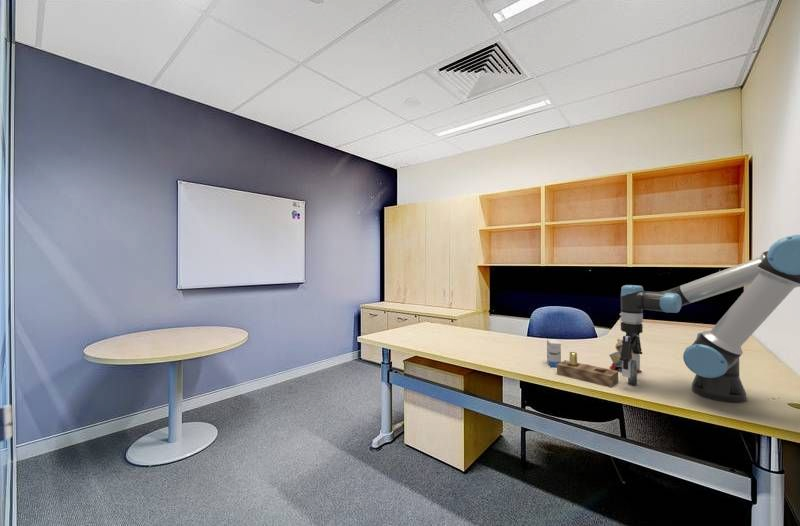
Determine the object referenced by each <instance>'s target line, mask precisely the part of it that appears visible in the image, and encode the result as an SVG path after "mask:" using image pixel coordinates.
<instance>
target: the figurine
mask: <svg viewBox="0 0 800 526" xmlns="http://www.w3.org/2000/svg"><path fill="white" fill-rule="evenodd" d="M622 344H623V338H622V339H621V338H617V343H616V344H615V350H616V351H615V352H612V353H611V354H608V355H609V357H610V359H611V361H612V364H611V365H610V366H609V369H610V370H616V369H617V371H618V372H619V371H620V372H622V360H620V358H621V351H622ZM632 353H633V351H632V352H631V357H630V360H632ZM625 358H626V357H625ZM637 373H642V370H637Z"/></svg>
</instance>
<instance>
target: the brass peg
mask: <svg viewBox="0 0 800 526" xmlns="http://www.w3.org/2000/svg"><path fill="white" fill-rule="evenodd" d="M569 361H570V366H574V367H577V363H578V352H576V351H575V352H574V351H570V352H569Z"/></svg>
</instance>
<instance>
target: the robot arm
mask: <svg viewBox="0 0 800 526" xmlns="http://www.w3.org/2000/svg"><path fill="white" fill-rule="evenodd" d="M745 286H747V287H746V288H745V290H744V291H743V292H742V293H741V294H740V296H738V298H737V300H735V302H734V303H733V304H732V305H731V306H730V307H729V308H728V310H727V311H726V312H725V313H724V315H722V317H721V318H720V319H719V320H718V321H717V323H716V324H715V325H714V326H713V327H712V329H711V330H705V331H702V332H698V334H697V335H696V339H695V340H694V342H693V343H692V344H691V345H689V346H687V347H686V348H685V350H684V351H683V355H682V359H683V362H684V364H685V366H686V367H687V368H688V369H689V371H691V372H692V373H694V374H695V376H694V378H693V381H692V383H691V391H692V392H694V393H695V394H697V395H699V396H702V397H705V398H708V399H712V400H716V401H721V402H725V403H726V402H727V403H744V402H746V401H747V398H748V397H747V392H746V390H745V387H744V385H743V383H742V381H741V376H740V357H741V356H742V355H743V354H744V353H743V349H742V346H743V345H744V344H745V342H747V340H748V339H749V338H750V337H751V336H752V335H753V334H754V333H755V331H757V330H758V328H759V327H760V326H762V324H763V323H764V322H765V321H766V320H767V318H769V317H770V315H771V314H772V313H773V312H774V311H775V310H776V308H778V306H779V305H780V304H781V303H782V302H783V301H784V300H785V299H786V298H787V296H788V295H789V294H791V292H792V291H793V290H794V289H795V288H799V287H800V234H793V235H789V236H785V237H782V238H780V239H778V240H777V241H775V242H774V243H773V244H771V245H770V247H769V248H768V250H766V251H763V252H762V253H761V255H760V256H759V257H756V258H753V259H751V260H748V261H745V262H743V263H740V264H737V265H734V266H731V267H729V268H725V269H723V270H720V271H717V272H715V273H711V274H709V275H706V276H704V277H701V278H698V279H695V280H693V281H690V282H688V283H684V284H681V285H678V286H676V287H672V288H670V289H667V290H663V291H647V290H644V287H643V285H638V284H637V285H635V284H634V285H633V284H625V285H623V286H621V291H620V313H619V316H620V331H621V332H623V333H625V335H623V336H622V339H623V344H622V351H621V358H620V360H622V371H621V377H625V378H627V379H628V378H630V366H631V361H630V357H631V352H632V351H633V353H632V360H636V361H637V371H638V370H640V369H641V355H643V351H642V346H641V345H642V344H641V337H640V334H642V333H643V332H644V331H643V328H644V326H643V325H644V324H643V322H644V312H643V310H645V311H646V310H647V311H655V312H661V313H662V312H663V313H667V314H669V313H671V314H672V313H673V314H674V313H675V314H677V313H679V312H680V310H681V309H682V307H683V306H686V305H689V304H692V303H695V302H699V301H702V300H705V299H708V298H710V297H714V296H717V295H720V294H724V293H726V292H730V291H732V290H736V289H739V288H742V287H745ZM625 357H626V358H625Z"/></svg>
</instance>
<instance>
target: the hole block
mask: <svg viewBox="0 0 800 526" xmlns="http://www.w3.org/2000/svg"><path fill="white" fill-rule="evenodd" d="M556 374H557V375H559V376H564V377H568V378H572V379H574V380H575V379H576V380H581V381H585V382H589V383H592V384H596V385H600V386H603V387H604V386H605V387H609V388H612V387H613V386H616V385H617V383H619V370H616V369H614V370H611V369H610V368H605V367H600V366H595V365H592V364H591V365H590V364H585V363H580V362H577V367H574V366H570V360H563V361H561V363H559V364H557V367H556Z"/></svg>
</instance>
